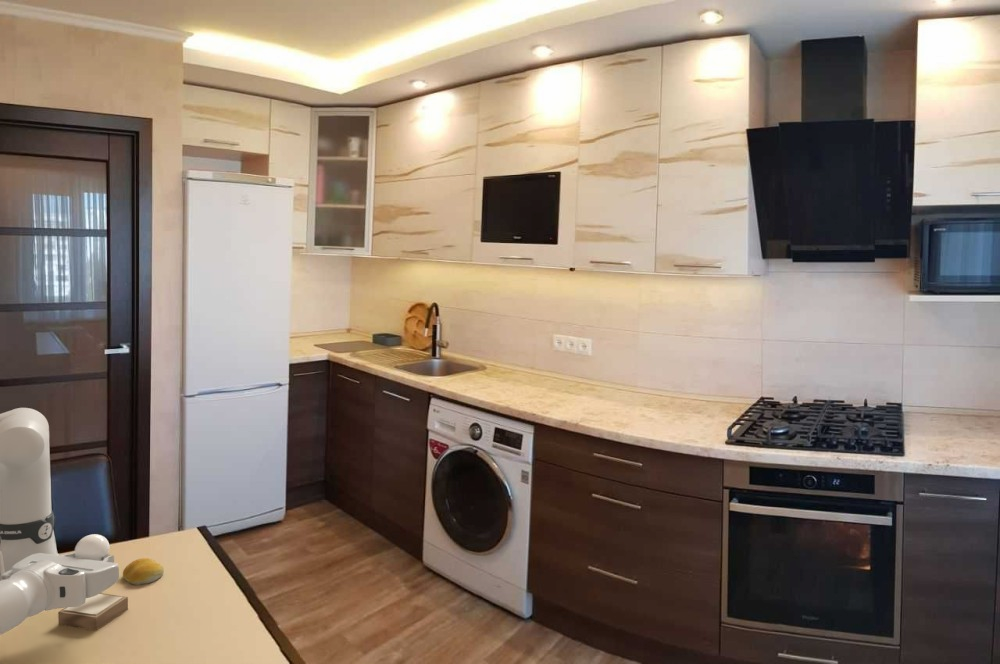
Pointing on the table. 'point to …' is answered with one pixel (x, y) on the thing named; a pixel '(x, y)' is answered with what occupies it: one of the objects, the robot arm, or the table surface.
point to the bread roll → (143, 571)
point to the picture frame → (94, 612)
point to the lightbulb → (92, 547)
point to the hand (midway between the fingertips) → (95, 556)
